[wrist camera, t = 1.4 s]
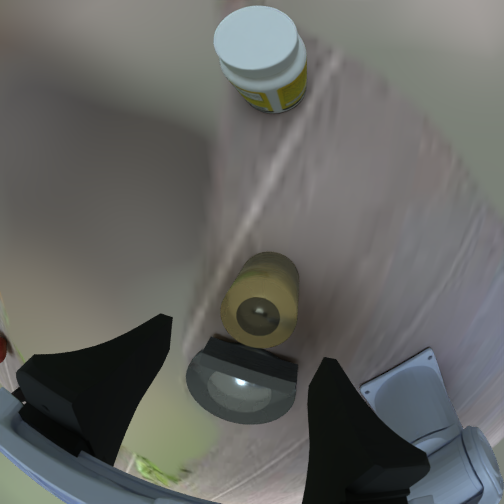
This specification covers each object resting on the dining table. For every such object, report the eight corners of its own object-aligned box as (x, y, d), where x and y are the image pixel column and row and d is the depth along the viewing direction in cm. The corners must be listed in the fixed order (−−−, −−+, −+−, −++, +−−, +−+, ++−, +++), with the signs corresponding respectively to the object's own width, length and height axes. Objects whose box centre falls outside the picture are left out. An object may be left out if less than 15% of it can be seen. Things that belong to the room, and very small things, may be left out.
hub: (310, 288, 21) (311, 328, 16) (262, 315, 23) (249, 359, 17) (277, 240, 21) (267, 266, 15) (229, 271, 22) (205, 305, 16)
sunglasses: (29, 385, 38) (18, 399, 34) (63, 421, 42) (54, 436, 38) (14, 381, 41) (4, 394, 36) (44, 415, 45) (36, 428, 40)
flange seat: (198, 325, 24) (184, 346, 21) (313, 363, 23) (313, 387, 20) (183, 399, 28) (172, 418, 25) (274, 428, 27) (271, 450, 24)
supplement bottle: (300, 55, 17) (297, -6, 9) (311, 110, 18) (316, 70, 10) (238, 64, 18) (201, 11, 10) (245, 118, 19) (209, 86, 11)
